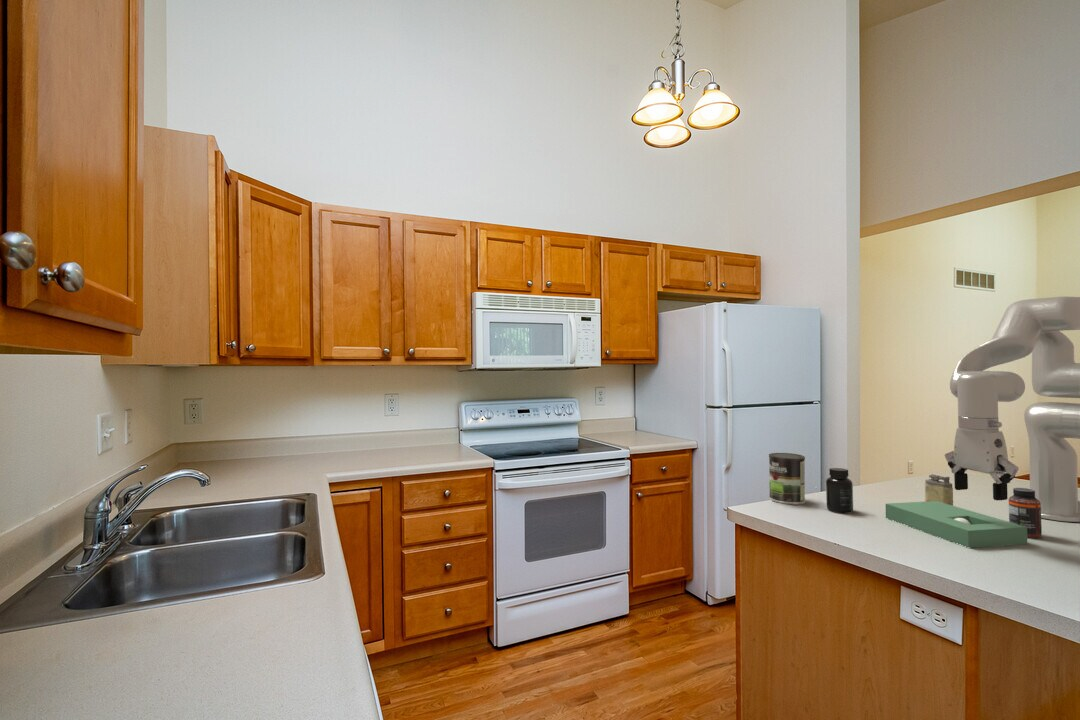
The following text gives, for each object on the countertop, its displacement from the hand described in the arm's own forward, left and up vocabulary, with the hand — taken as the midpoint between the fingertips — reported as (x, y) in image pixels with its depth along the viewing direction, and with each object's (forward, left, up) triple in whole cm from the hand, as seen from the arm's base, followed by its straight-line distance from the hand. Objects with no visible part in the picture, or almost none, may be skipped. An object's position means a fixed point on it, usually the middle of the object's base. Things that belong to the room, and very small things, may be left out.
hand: (980, 494), depth 127 cm
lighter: (-13, -24, -11) cm, 30 cm away
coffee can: (+24, -41, -11) cm, 49 cm away
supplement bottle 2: (-14, -1, -11) cm, 18 cm away
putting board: (+1, -7, -11) cm, 13 cm away
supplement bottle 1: (+16, -28, -11) cm, 34 cm away
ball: (+2, -3, -9) cm, 9 cm away
